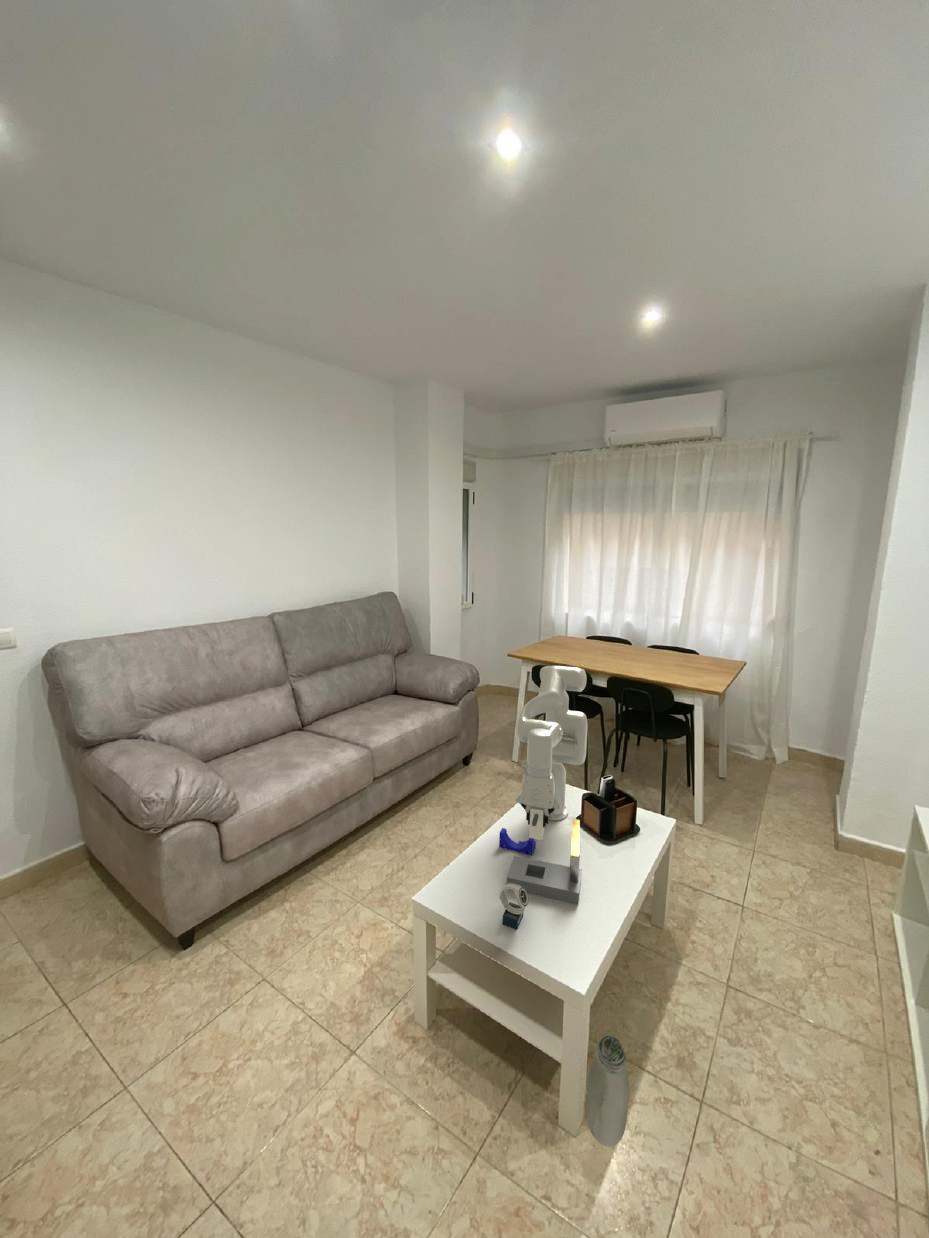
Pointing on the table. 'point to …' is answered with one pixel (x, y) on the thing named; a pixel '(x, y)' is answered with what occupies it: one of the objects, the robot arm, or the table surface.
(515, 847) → the blue cradle stand
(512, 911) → the watch
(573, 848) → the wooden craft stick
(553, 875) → the socket block
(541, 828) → the white upright block
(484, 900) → the table surface
